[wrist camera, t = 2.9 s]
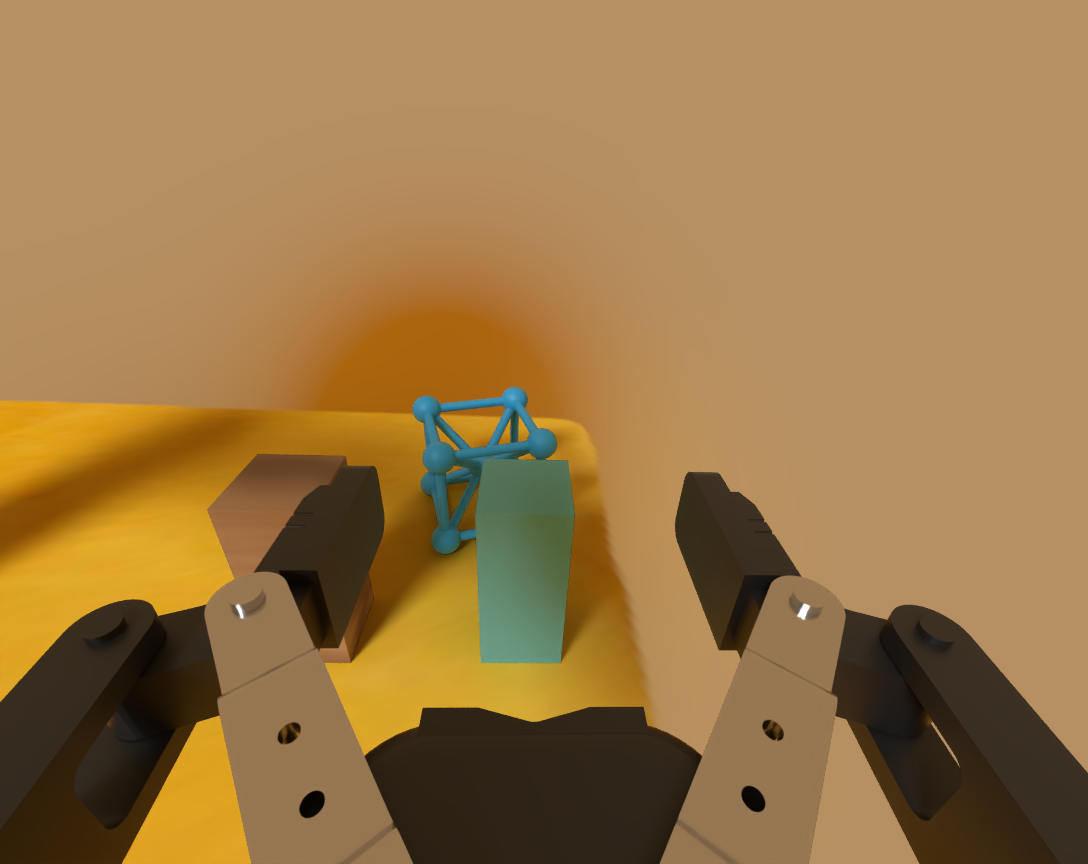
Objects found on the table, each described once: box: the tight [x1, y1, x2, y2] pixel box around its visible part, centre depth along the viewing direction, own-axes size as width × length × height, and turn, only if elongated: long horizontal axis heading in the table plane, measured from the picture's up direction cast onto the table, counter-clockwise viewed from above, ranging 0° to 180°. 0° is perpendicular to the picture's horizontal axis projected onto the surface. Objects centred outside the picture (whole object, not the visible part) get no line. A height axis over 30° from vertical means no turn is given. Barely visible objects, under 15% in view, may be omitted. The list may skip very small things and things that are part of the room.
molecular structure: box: [413, 387, 557, 554], centre depth 40 cm, size 10×10×10 cm
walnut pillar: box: [207, 454, 374, 663], centre depth 28 cm, size 5×5×12 cm
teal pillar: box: [475, 459, 575, 663], centre depth 29 cm, size 5×5×12 cm
